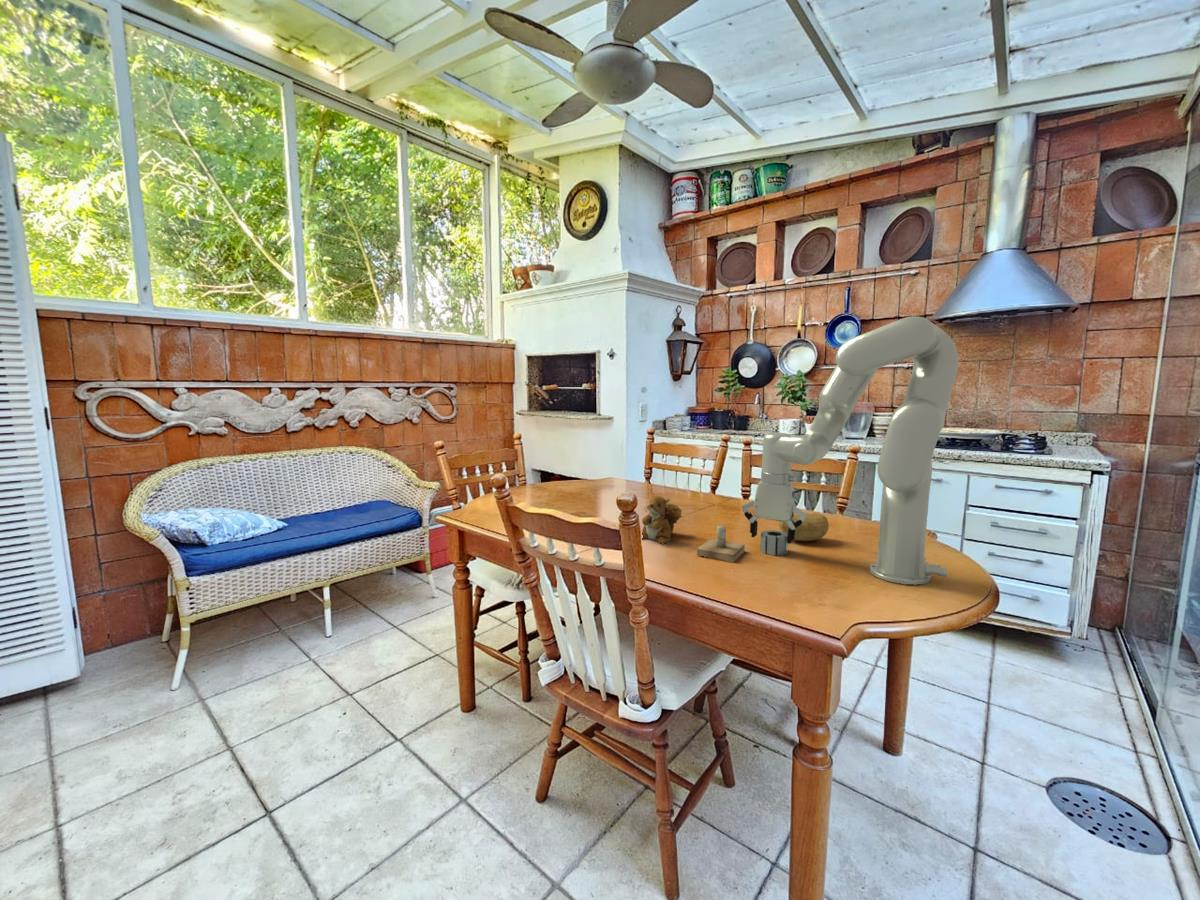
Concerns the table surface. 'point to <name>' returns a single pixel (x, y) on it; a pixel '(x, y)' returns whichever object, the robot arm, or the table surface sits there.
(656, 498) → the stuffed squirrel
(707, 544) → the shaft stand
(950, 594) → the table surface
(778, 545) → the hub
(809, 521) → the potato
